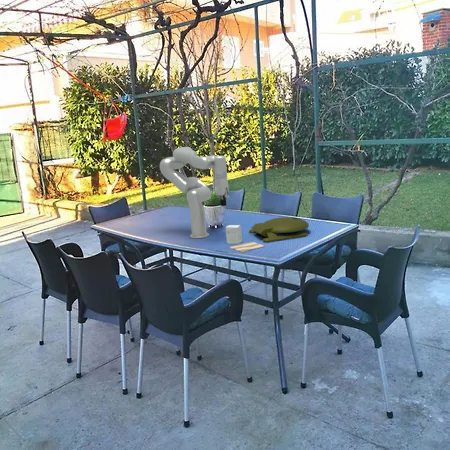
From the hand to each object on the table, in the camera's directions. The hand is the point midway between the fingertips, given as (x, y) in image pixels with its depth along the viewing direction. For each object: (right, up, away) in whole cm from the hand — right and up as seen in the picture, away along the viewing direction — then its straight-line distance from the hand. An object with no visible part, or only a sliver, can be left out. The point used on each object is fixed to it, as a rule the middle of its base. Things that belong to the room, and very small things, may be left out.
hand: (223, 205), depth 293 cm
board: (+14, -25, -15) cm, 32 cm away
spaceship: (+37, -18, +9) cm, 42 cm away
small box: (+7, -23, -3) cm, 24 cm away
